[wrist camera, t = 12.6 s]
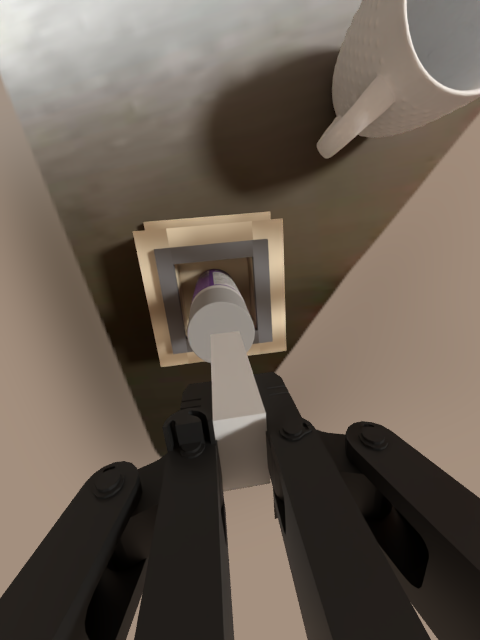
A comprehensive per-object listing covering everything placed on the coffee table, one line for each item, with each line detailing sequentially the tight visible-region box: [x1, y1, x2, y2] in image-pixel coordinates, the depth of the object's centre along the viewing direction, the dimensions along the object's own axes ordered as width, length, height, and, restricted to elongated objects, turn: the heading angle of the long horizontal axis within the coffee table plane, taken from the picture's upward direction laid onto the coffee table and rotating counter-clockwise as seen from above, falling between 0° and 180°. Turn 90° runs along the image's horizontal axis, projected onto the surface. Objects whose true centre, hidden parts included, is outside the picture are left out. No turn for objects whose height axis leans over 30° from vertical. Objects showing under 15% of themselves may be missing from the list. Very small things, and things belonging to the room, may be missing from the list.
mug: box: [317, 0, 480, 158], centre depth 21 cm, size 15×11×13 cm
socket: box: [133, 212, 286, 367], centre depth 29 cm, size 16×14×7 cm
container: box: [187, 269, 255, 363], centre depth 24 cm, size 5×5×15 cm
